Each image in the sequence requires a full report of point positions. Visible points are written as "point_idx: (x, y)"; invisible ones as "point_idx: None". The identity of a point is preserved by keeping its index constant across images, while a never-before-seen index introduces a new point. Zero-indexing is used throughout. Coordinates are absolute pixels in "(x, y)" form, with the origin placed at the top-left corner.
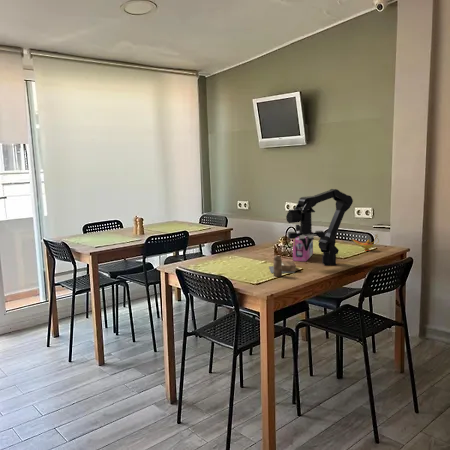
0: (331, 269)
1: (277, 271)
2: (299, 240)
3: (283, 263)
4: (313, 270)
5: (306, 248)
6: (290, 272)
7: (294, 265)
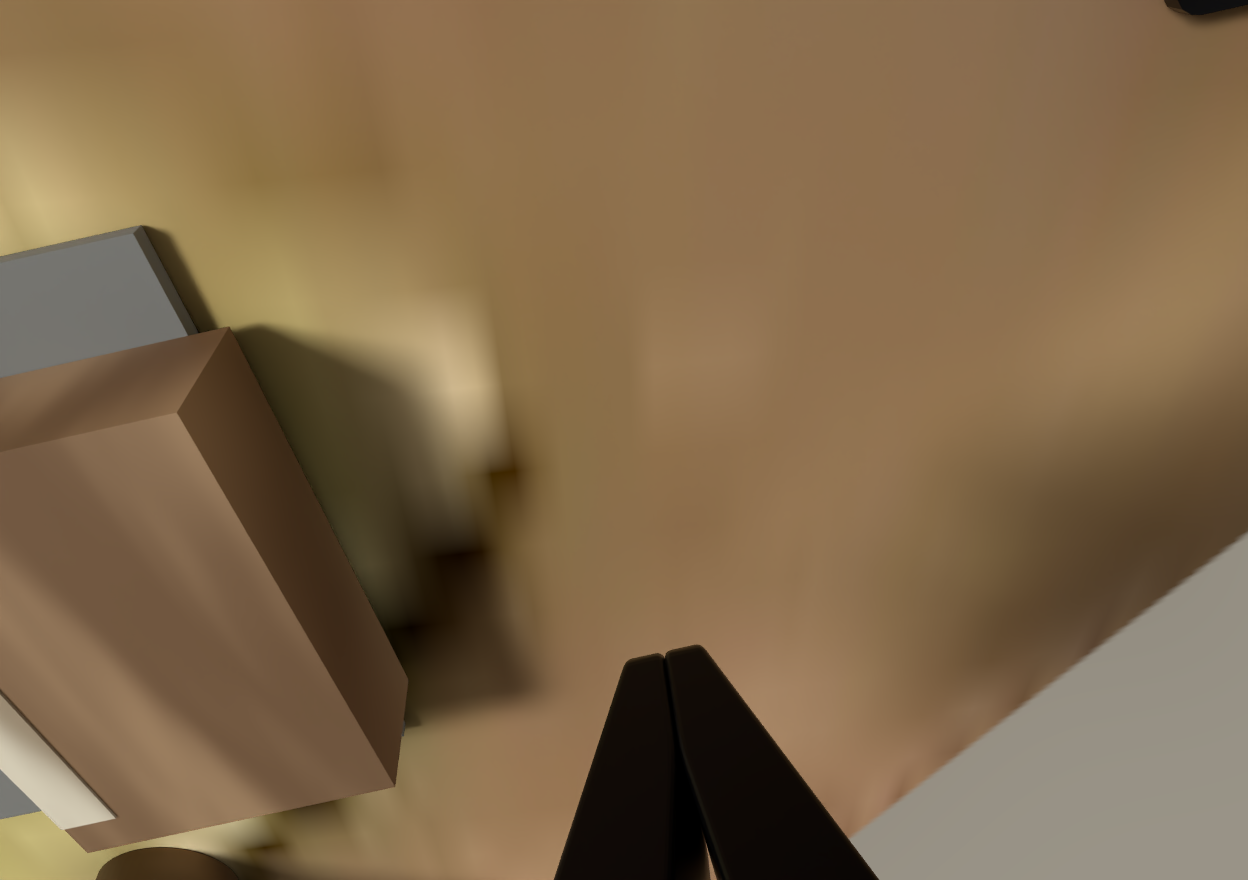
0: (1171, 400)
1: None
2: None
3: (15, 702)
4: (765, 523)
5: (701, 855)
6: None
7: (366, 792)
